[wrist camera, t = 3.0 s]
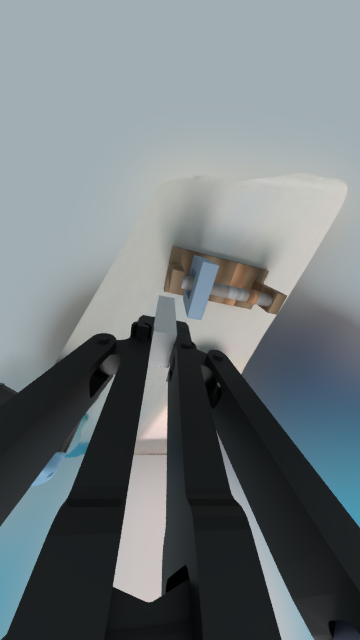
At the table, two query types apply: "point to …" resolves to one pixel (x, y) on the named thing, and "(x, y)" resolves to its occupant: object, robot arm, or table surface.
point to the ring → (199, 286)
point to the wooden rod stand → (225, 282)
